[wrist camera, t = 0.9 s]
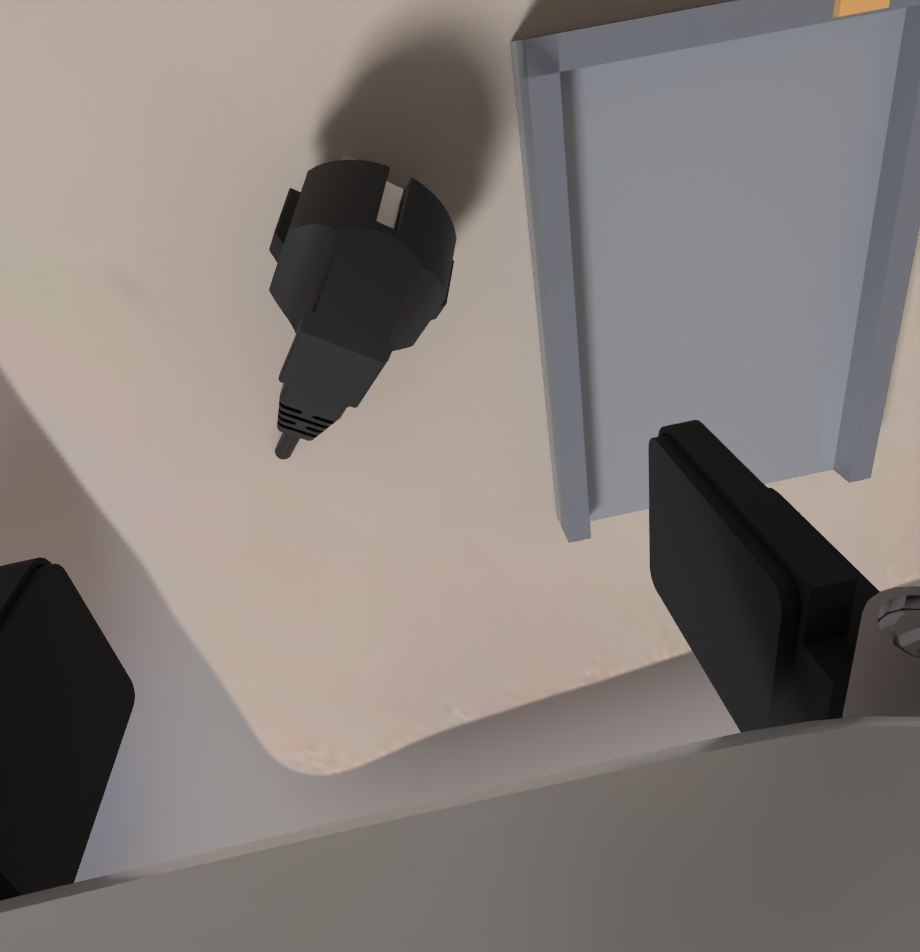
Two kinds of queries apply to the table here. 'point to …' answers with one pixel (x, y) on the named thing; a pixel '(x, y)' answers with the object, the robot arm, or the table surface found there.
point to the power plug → (353, 286)
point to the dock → (719, 235)
